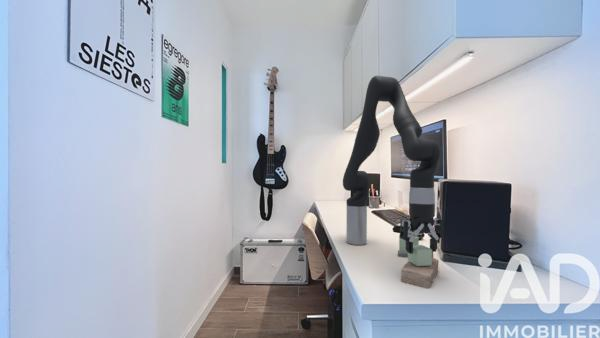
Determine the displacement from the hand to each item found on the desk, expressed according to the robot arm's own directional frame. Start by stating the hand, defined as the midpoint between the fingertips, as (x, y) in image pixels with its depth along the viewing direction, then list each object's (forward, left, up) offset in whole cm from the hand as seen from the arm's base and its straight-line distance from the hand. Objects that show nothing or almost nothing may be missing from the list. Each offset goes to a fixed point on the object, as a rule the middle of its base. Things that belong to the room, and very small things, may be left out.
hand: (421, 252), depth 85 cm
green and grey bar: (-18, +8, -8) cm, 21 cm away
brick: (0, 0, -8) cm, 8 cm away
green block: (0, 0, -4) cm, 4 cm away
